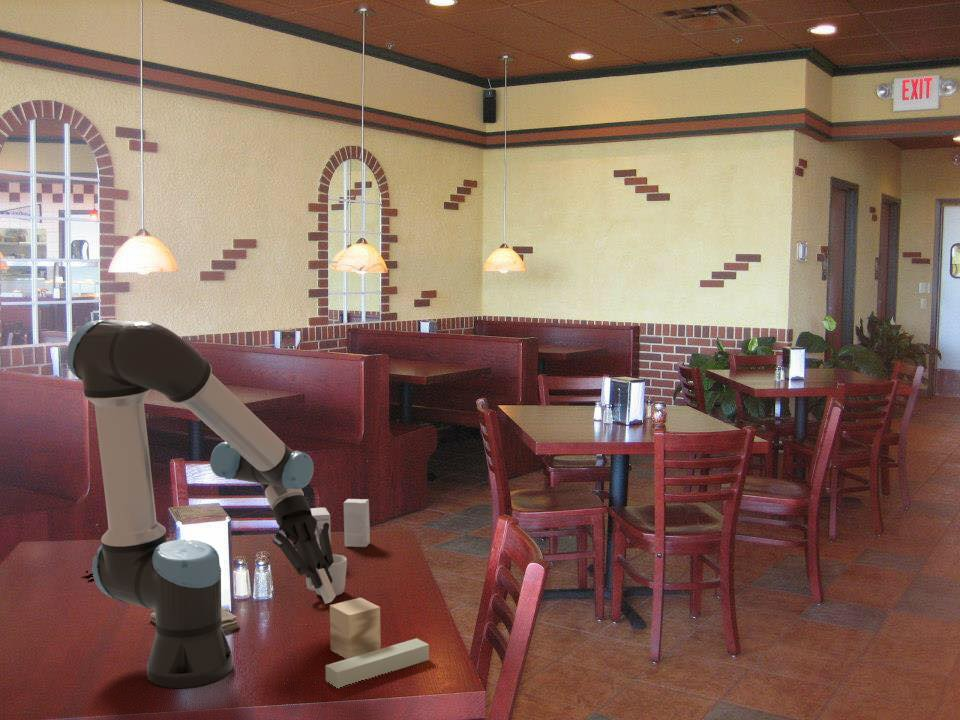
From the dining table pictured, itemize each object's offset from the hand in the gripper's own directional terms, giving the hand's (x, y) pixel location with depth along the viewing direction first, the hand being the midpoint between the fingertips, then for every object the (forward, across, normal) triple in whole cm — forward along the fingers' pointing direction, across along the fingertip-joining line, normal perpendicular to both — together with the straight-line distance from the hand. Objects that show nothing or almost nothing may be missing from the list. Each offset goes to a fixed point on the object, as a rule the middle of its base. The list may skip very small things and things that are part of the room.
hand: (330, 599), depth 201 cm
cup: (-8, -10, -18) cm, 23 cm away
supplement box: (-25, -22, -36) cm, 49 cm away
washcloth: (-10, +20, -20) cm, 30 cm away
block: (+13, +2, +4) cm, 14 cm away
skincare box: (-28, -37, -39) cm, 61 cm away
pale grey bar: (+20, +4, +12) cm, 24 cm away
